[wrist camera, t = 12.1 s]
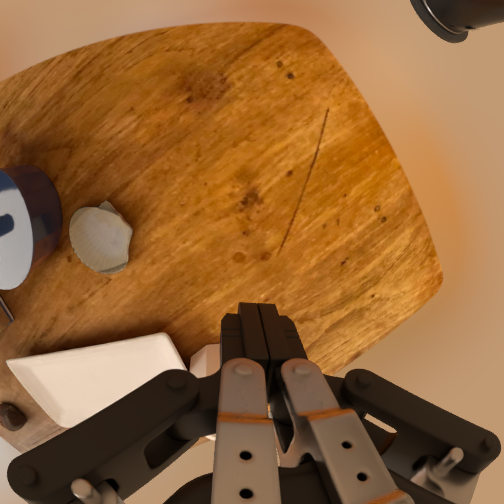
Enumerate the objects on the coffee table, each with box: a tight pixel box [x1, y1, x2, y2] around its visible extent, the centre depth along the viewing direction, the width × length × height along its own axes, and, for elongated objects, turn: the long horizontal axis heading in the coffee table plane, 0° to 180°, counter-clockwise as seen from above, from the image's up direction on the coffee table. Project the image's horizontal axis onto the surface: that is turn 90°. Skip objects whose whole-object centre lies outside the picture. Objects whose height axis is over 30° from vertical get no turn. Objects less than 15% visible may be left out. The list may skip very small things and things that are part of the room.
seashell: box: [69, 201, 132, 274], centre depth 27 cm, size 8×3×8 cm
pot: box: [1, 164, 62, 274], centre depth 23 cm, size 13×13×6 cm
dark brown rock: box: [0, 404, 27, 431], centre depth 36 cm, size 6×7×10 cm
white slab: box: [6, 332, 187, 428], centre depth 34 cm, size 17×32×4 cm, turn 105°
